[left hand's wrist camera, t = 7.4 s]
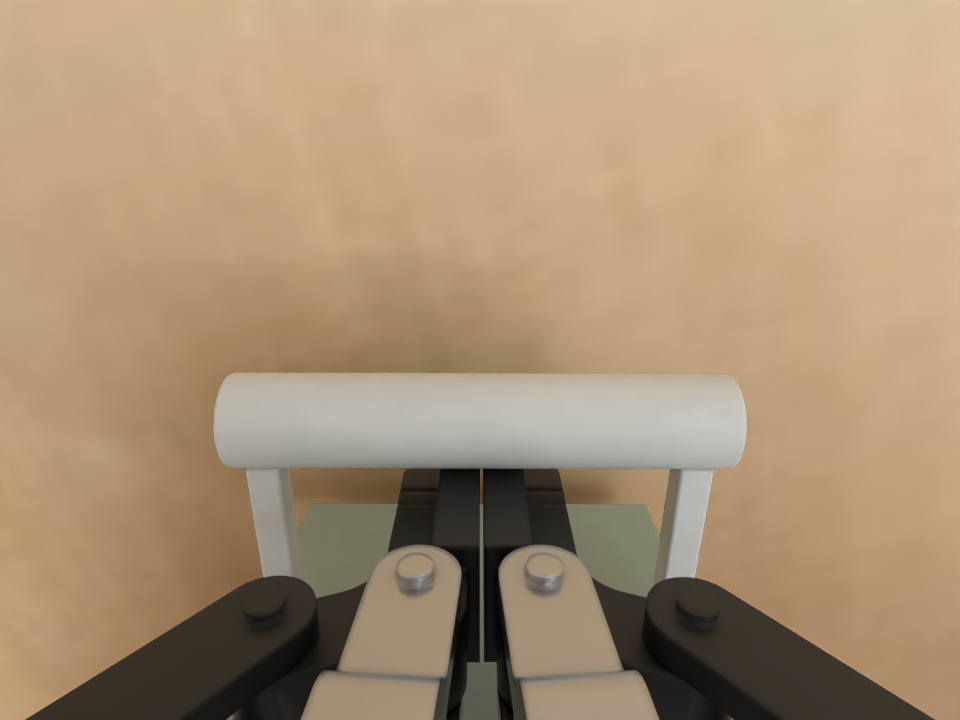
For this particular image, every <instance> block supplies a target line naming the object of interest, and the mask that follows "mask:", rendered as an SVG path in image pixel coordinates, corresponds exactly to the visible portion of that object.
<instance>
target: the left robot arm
mask: <svg viewBox="0 0 960 720" xmlns="http://www.w3.org/2000/svg"><path fill="white" fill-rule="evenodd" d="M483 593H484V662H496V664H497V715H498V720H731V718H732V719H733V720H934V719H933V718H931V717H929V716H928V715H926V714H925V713H923V712H921V711H920V710H918V709H917V708H915V707H913V706H912V705H910V704H908V703H907V702H905V701H904V700H902V699H900V698H899V697H897V696H896V695H894V694H892V693H891V692H889V691H888V690H886V689H884V688H883V687H881V686H879V685H878V684H876V683H875V682H873V681H871V680H870V679H868V678H867V677H865V676H863V675H862V674H860V673H859V672H857V671H855V670H854V669H852V668H851V667H849V666H847V665H846V664H844V663H842V662H841V661H839V660H838V659H836V658H834V657H833V656H831V655H830V654H828V653H826V652H825V651H823V650H822V649H820V648H818V647H817V646H815V645H813V644H812V643H810V642H809V641H807V640H805V639H804V638H802V637H801V636H799V635H797V634H796V633H794V632H793V631H791V630H789V629H788V628H786V627H784V626H783V625H781V624H780V623H778V622H776V621H775V620H773V619H772V618H770V617H768V616H767V615H765V614H764V613H762V612H760V611H759V610H757V609H755V608H754V607H752V606H751V605H749V604H747V603H746V602H744V601H743V600H741V599H739V598H738V597H736V596H735V595H733V594H731V593H730V592H728V591H726V590H725V589H723V588H721V587H719V586H718V585H715V584H713V583H711V582H708V581H705V580H701V579H697V578H691V577H674V578H668V579H665V580H662V581H660V582H659V583H657V584H655V585H654V586H653V587H652V588H651V589H650V591H649V592H648V595H647V598H646V597H642V596H638V595H634V594H630V593H626V592H622V591H619V590H615V589H613V588H610V587H608V586H605V585H604V584H602V583H600V582H598V581H597V580H595V579H594V578H592V577H591V575H590V572H589V570H588V568H587V566H586V565H585V563H584V562H583V561H582V560H581V559H580V558H579V557H578V556H577V553H576V548H575V544H574V539H573V534H572V530H571V525H570V521H569V516H568V511H567V507H566V505H565V498H564V493H563V491H562V484H561V479H560V475H559V471H558V470H557V469H483ZM468 662H480V469H427V468H408V469H407V470H406V471H405V472H404V476H403V481H402V486H401V492H400V495H399V500H398V505H397V510H396V514H395V519H394V524H393V529H392V534H391V538H390V543H389V548H388V553H387V554H385V555H384V556H382V557H381V558H380V559H379V560H378V561H377V562H376V563H375V565H374V566H373V568H372V570H371V572H370V575H369V578H368V581H366V582H365V583H363V584H361V585H359V586H357V587H355V588H352V589H350V590H347V591H343V592H340V593H335V594H331V595H327V596H323V597H319V598H316V596H315V593H314V591H313V589H312V588H311V586H310V585H308V584H307V583H306V582H304V581H303V580H301V579H298V578H295V577H290V576H269V577H263V578H260V579H256V580H253V581H251V582H248V583H246V584H244V585H242V586H240V587H238V588H237V589H235V590H234V591H232V592H230V593H229V594H227V595H225V596H224V597H222V598H221V599H219V600H217V601H216V602H214V603H213V604H211V605H209V606H208V607H206V608H205V609H203V610H201V611H200V612H198V613H196V614H195V615H193V616H192V617H190V618H188V619H187V620H185V621H184V622H182V623H180V624H179V625H177V626H176V627H174V628H172V629H171V630H169V631H168V632H166V633H164V634H163V635H161V636H159V637H158V638H156V639H155V640H153V641H151V642H150V643H148V644H147V645H145V646H143V647H142V648H140V649H139V650H137V651H135V652H134V653H132V654H130V655H129V656H127V657H126V658H124V659H122V660H121V661H119V662H118V663H116V664H114V665H113V666H111V667H110V668H108V669H106V670H105V671H103V672H101V673H100V674H98V675H97V676H95V677H93V678H92V679H90V680H89V681H87V682H85V683H84V684H82V685H81V686H79V687H77V688H76V689H74V690H72V691H71V692H69V693H68V694H66V695H64V696H63V697H61V698H60V699H58V700H56V701H55V702H53V703H52V704H50V705H48V706H47V707H45V708H43V709H42V710H40V711H39V712H37V713H35V714H34V715H32V716H31V717H29V718H27V719H26V720H227V719H228V718H229V717H230V716H232V715H233V719H232V720H462V715H463V695H464V693H465V690H466V687H467V667H468Z"/></svg>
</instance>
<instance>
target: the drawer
mask: <svg viewBox="0 0 960 720" xmlns="http://www.w3.org/2000/svg"><path fill="white" fill-rule="evenodd" d="M213 429H214V441H215V446H216V450H217V453H218V456H219V458H220V460H221V462H222V463H223V464H224V465H225V466H227V467H230V468H247V470H246V475H247V482H248V488H249V494H250V500H251V506H252V512H253V518H254V524H255V530H256V536H257V542H258V548H259V554H260V561H261V567H262V573H263V577H269V576H290V577H295V578H298V579H301V580H303V581H304V582H306V583H307V584H308V585H310V586H311V588H312V589H313V591H314V593H315V596H316V598H319V597H323V596H327V595H331V594H335V593H340V592H343V591H347V590H350V589H352V588H355V587H357V586H359V585H361V584H363V583H365V582H366V581H368V578H369V575H370V572H371V570H372V568H373V566H374V565H375V563H376V562H377V561H378V560H379V559H380V558H381V557H382V556H384V555H385V554H387V553H388V548H389V543H390V538H391V534H392V529H393V524H394V519H395V514H396V510H397V505H398V504H310V506H309V508H308V511H307V513H306V516H305V518H304V521H303V523H302V526H301V528H300V531H299V533H298V530H297V523H296V515H295V508H294V500H293V493H292V485H291V477H290V470H289V468H427V469H670V472H669V479H668V486H667V493H666V500H665V507H664V514H663V521H662V528H661V534H660V538H659V535H658V533H657V530H656V528H655V526H654V523H653V521H652V518H651V516H650V514H649V511H648V509H647V506H646V505H645V504H565V505H566V507H567V511H568V516H569V521H570V525H571V530H572V534H573V539H574V544H575V548H576V553H577V556H578V557H579V558H580V559H581V560H582V561H583V562H584V563H585V565H586V566H587V568H588V570H589V572H590V575H591V577H592V578H594V579H595V580H597V581H598V582H600V583H602V584H604V585H605V586H608V587H610V588H613V589H615V590H619V591H622V592H626V593H630V594H634V595H638V596H642V597H646V598H647V595H648V592H649V591H650V589H651V588H652V587H653V586H654V585H655V584H657V583H659V582H660V581H662V580H665V579H668V578H674V577H691V578H695V574H696V568H697V563H698V557H699V551H700V546H701V540H702V534H703V529H704V523H705V517H706V512H707V506H708V501H709V495H710V489H711V484H712V478H713V469H729V468H732V467H734V466H735V465H736V464H737V463H738V462H739V460H740V459H741V456H742V454H743V451H744V447H745V442H746V433H747V418H746V409H745V403H744V399H743V395H742V392H741V390H740V387H739V385H738V384H737V382H736V381H735V379H733V378H732V377H731V376H729V375H727V374H579V373H233V374H230V375H229V376H227V377H226V378H225V380H224V381H223V383H222V384H221V387H220V389H219V392H218V395H217V398H216V403H215V409H214V421H213ZM232 719H233V715H232V716H230V717H229V718H228V719H227V720H232ZM462 720H498V715H497V664H496V662H484V593H483V504H480V662H468V667H467V687H466V690H465V693H464V695H463V715H462ZM731 720H733V719H732V718H731Z"/></svg>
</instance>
